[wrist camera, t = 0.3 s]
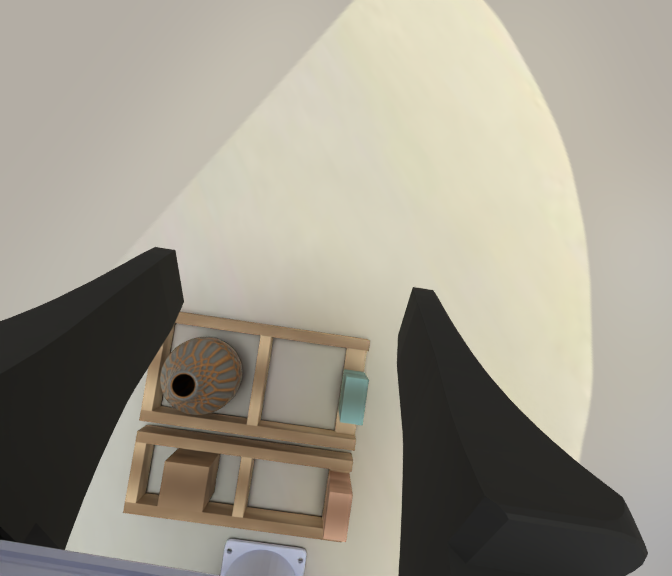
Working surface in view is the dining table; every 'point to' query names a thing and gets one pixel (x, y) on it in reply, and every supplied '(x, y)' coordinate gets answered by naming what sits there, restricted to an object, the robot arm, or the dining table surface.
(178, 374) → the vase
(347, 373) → the tray
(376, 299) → the dining table surface
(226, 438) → the frame
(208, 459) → the walnut cube
